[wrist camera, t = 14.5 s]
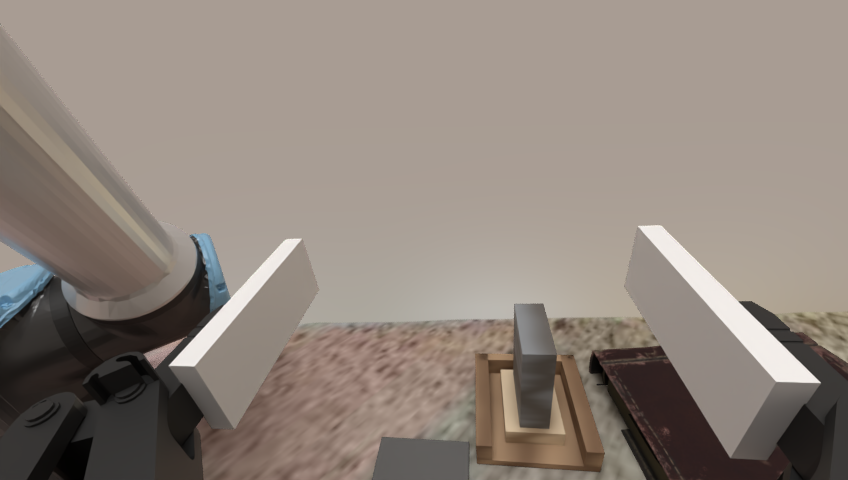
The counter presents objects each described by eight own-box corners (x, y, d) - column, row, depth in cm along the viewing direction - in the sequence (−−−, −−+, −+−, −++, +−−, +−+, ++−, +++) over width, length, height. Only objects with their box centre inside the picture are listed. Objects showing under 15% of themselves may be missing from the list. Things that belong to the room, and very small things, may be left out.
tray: (477, 463, 36) (476, 445, 35) (476, 370, 47) (475, 353, 45) (600, 471, 34) (604, 453, 33) (570, 372, 45) (573, 355, 43)
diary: (586, 371, 46) (590, 343, 43) (781, 354, 45) (797, 325, 42) (680, 548, 29) (695, 519, 27) (993, 528, 28) (1037, 496, 26)
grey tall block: (505, 442, 37) (505, 358, 31) (500, 380, 44) (499, 301, 38) (563, 445, 36) (576, 359, 30) (549, 381, 43) (556, 300, 37)
